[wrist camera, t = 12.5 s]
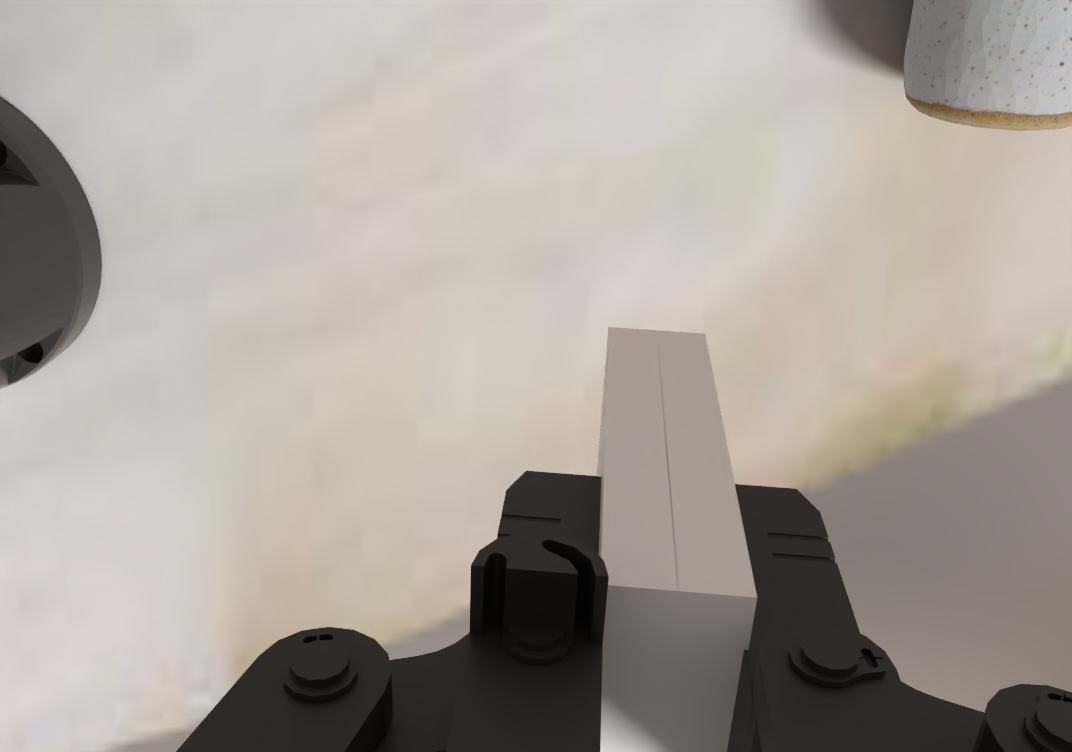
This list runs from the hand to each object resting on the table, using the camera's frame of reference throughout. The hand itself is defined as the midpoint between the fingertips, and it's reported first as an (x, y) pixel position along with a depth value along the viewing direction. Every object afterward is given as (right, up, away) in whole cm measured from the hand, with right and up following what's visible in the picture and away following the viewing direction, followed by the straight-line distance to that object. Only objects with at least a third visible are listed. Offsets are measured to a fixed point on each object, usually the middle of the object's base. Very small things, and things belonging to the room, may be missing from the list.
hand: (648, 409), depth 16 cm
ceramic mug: (+18, +16, +24) cm, 34 cm away
